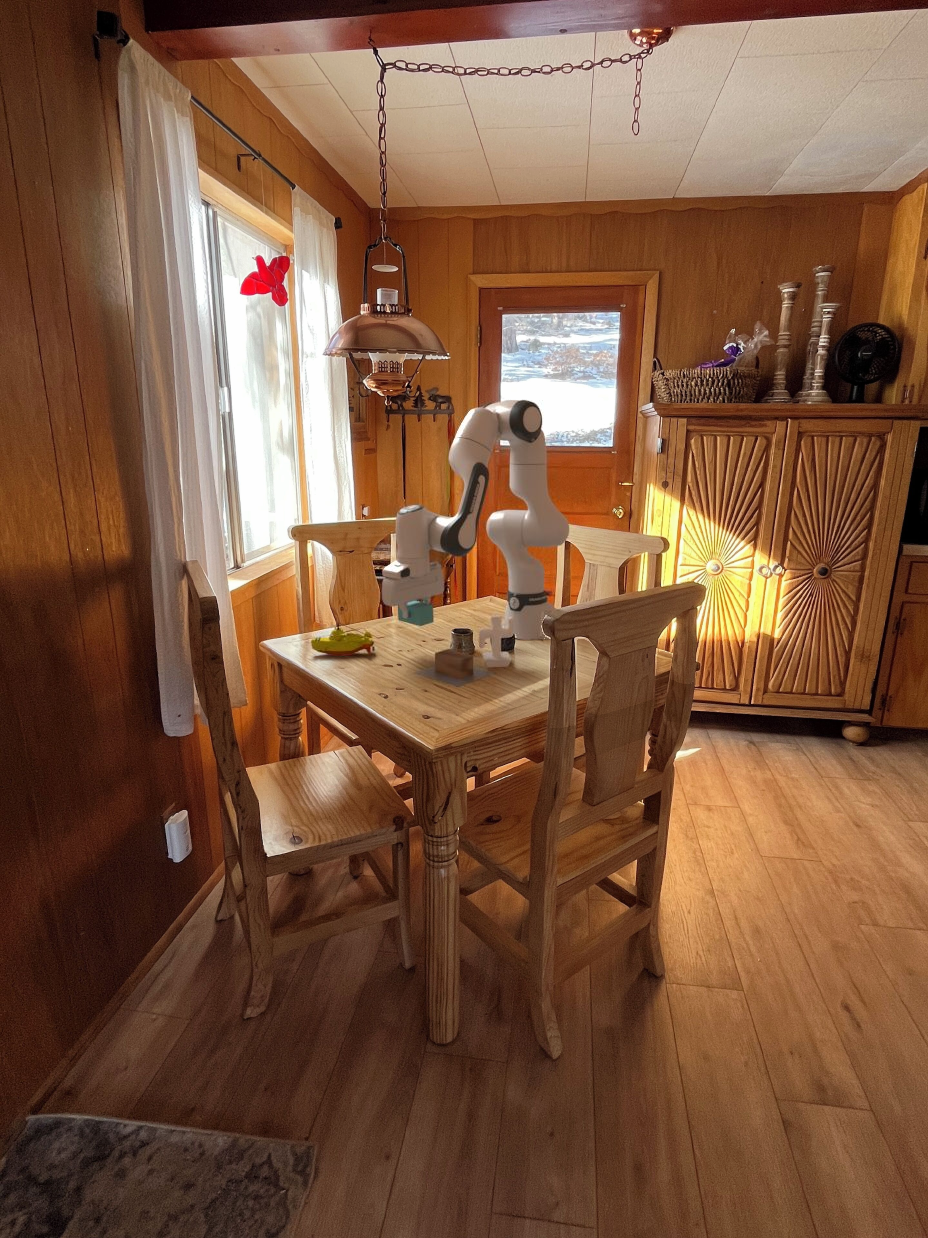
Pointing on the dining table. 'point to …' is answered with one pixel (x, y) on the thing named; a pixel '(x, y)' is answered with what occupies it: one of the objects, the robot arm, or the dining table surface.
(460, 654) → the walnut block
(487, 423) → the robot arm
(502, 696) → the dining table surface
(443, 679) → the baseplate
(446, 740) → the dining table surface
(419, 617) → the teal block
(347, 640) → the toy boat
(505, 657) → the figurine
